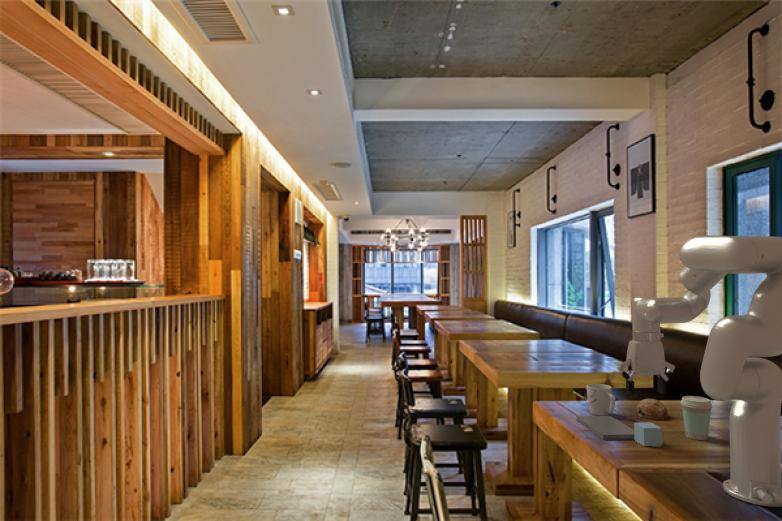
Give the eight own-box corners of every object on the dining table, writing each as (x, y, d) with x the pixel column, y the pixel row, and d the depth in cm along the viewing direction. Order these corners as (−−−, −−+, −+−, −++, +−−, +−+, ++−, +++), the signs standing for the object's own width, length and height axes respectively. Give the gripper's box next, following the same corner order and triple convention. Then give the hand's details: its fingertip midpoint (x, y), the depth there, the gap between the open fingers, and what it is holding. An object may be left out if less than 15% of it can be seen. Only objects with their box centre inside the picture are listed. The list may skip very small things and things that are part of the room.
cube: (662, 446, 147) (661, 427, 147) (644, 446, 147) (643, 428, 147) (651, 440, 153) (651, 422, 153) (634, 440, 153) (633, 422, 153)
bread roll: (634, 423, 182) (627, 404, 180) (651, 408, 186) (644, 390, 184) (658, 431, 173) (651, 411, 171) (676, 415, 177) (669, 396, 176)
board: (641, 439, 153) (641, 434, 154) (603, 439, 153) (603, 434, 153) (610, 420, 173) (610, 415, 174) (576, 420, 173) (576, 416, 173)
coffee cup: (718, 442, 150) (717, 403, 151) (687, 440, 152) (686, 401, 152) (706, 433, 159) (705, 396, 159) (676, 432, 160) (676, 394, 161)
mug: (623, 417, 177) (623, 389, 177) (605, 420, 173) (605, 391, 174) (599, 409, 187) (599, 382, 187) (581, 411, 184) (581, 384, 184)
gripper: (666, 335, 155) (666, 389, 155) (612, 335, 154) (612, 390, 154) (681, 338, 148) (681, 396, 147) (624, 339, 147) (624, 396, 147)
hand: (646, 393), depth 151 cm, fingers open, 9 cm apart
